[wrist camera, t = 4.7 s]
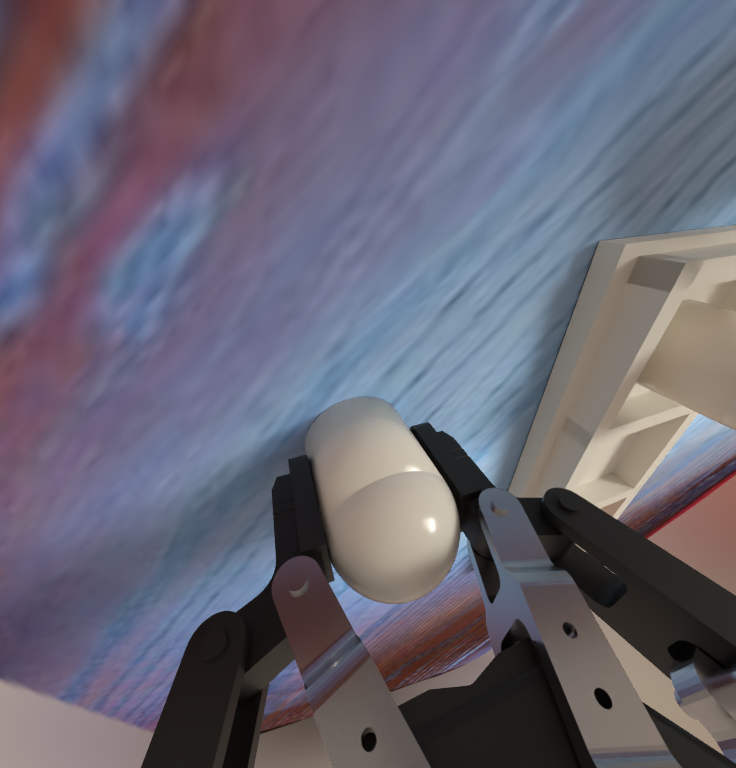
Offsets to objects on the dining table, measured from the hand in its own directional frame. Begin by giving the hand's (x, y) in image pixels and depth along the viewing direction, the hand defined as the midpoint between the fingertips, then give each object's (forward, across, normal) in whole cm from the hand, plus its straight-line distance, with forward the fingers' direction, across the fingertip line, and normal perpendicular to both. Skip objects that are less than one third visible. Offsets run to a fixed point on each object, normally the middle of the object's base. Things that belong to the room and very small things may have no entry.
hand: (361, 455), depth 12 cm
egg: (+1, 0, 0) cm, 1 cm away
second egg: (0, -16, -2) cm, 16 cm away
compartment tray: (+1, -16, +6) cm, 17 cm away
